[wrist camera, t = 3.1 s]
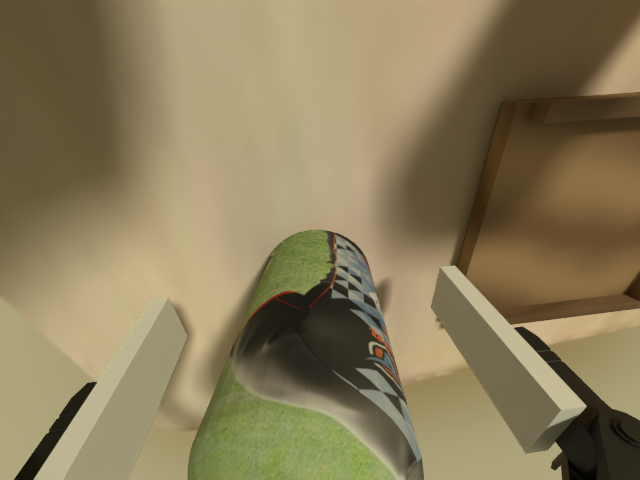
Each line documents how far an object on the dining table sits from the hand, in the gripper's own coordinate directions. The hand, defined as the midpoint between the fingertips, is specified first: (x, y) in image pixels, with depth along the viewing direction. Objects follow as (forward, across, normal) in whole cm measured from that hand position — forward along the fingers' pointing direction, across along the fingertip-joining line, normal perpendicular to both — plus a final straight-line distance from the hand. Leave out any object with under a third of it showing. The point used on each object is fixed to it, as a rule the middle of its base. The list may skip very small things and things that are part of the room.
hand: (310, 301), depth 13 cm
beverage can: (+4, 0, 0) cm, 4 cm away
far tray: (+3, +17, +1) cm, 17 cm away
